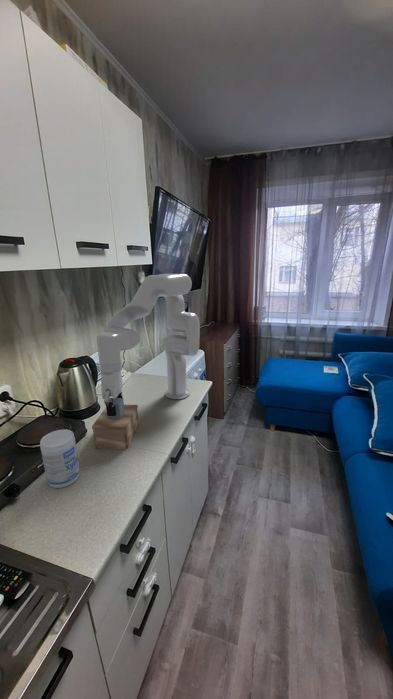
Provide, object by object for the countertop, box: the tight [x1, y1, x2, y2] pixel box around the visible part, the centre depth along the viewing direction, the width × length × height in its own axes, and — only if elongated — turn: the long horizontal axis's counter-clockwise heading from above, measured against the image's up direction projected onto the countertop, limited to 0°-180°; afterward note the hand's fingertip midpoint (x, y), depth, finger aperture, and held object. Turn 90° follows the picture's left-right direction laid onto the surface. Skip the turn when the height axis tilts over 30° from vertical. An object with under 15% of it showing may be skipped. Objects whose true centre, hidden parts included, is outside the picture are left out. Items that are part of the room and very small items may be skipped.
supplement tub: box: [39, 429, 81, 489], centre depth 87 cm, size 10×10×15 cm
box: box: [92, 409, 140, 450], centre depth 110 cm, size 16×12×8 cm
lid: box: [91, 404, 139, 430], centre depth 109 cm, size 16×12×1 cm
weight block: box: [106, 398, 125, 419], centre depth 107 cm, size 5×5×6 cm
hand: (115, 409), depth 108 cm, fingers open, 7 cm apart
